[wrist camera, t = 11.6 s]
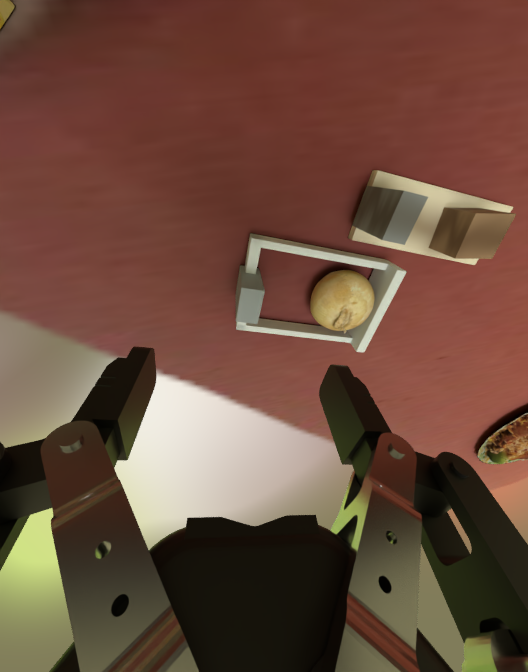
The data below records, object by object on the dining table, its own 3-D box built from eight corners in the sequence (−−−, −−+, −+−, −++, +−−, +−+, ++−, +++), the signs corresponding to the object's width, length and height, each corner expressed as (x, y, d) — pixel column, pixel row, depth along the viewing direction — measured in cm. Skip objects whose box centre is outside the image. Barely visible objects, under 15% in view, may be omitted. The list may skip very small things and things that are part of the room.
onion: (313, 260, 32) (331, 281, 26) (370, 267, 33) (400, 288, 27) (300, 315, 36) (313, 343, 30) (351, 319, 37) (372, 347, 31)
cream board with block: (367, 168, 26) (413, 169, 20) (504, 205, 30) (582, 216, 23) (343, 236, 30) (374, 256, 23) (467, 262, 34) (525, 285, 27)
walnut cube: (444, 207, 28) (475, 213, 25) (479, 208, 29) (516, 213, 25) (428, 247, 31) (455, 258, 27) (461, 247, 31) (492, 258, 28)
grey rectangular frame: (245, 232, 29) (247, 248, 23) (386, 259, 32) (420, 279, 26) (231, 319, 35) (231, 349, 29) (351, 334, 38) (372, 364, 33)
